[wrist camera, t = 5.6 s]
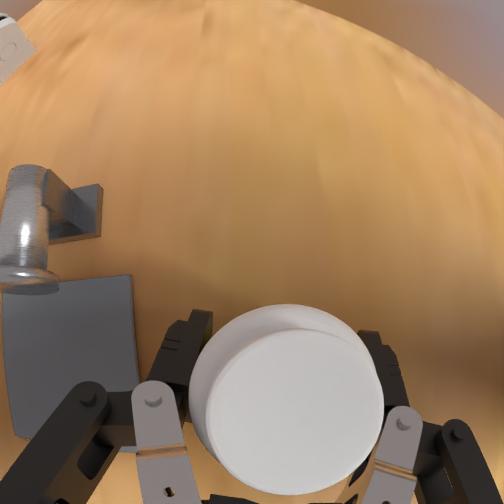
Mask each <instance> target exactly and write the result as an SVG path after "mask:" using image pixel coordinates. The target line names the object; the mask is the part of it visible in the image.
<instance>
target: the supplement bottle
mask: <svg viewBox="0 0 504 504" xmlns="http://www.w3.org/2000/svg"><path fill="white" fill-rule="evenodd" d="M189 410H190V415H191V419H192V422H193V426H194V428H195V431H196V433H197V435H198V437H199V439H200V440H201V442H202V443H203V445H204V446H205V448H206V449H207V450H208V451H209V453H210V454H211V455H212V456H213V457H214V458H215V459H216V460H217V461H218V462H219V463H221V464H222V465H223V466H224V468H225V469H226V470H227V471H228V472H229V473H230V474H231V475H232V476H234V477H235V478H237V479H238V480H239V481H241V482H243V483H244V484H246V485H248V486H250V487H252V488H255V489H257V490H260V491H264V492H267V493H271V494H277V495H302V494H307V493H313V492H316V491H319V490H322V489H325V488H327V487H330V486H332V485H334V484H336V483H338V482H339V481H341V480H343V479H344V478H346V477H347V476H348V475H350V474H351V473H352V472H353V471H354V470H355V469H357V468H358V467H359V466H360V465H361V463H362V462H363V461H364V460H365V459H366V458H367V456H368V455H369V453H370V452H371V450H372V448H373V447H374V445H375V443H376V441H377V439H378V436H379V433H380V431H381V426H382V422H383V416H384V397H383V392H382V387H381V384H380V381H379V379H378V376H377V373H376V369H375V366H374V363H373V360H372V357H371V355H370V353H369V351H368V349H367V348H366V346H365V344H364V343H363V341H362V340H361V339H360V337H359V336H358V335H357V334H356V333H355V332H354V331H353V330H352V329H351V328H350V327H349V326H348V325H347V324H345V323H344V322H343V321H341V320H339V319H338V318H336V317H335V316H333V315H331V314H329V313H327V312H325V311H322V310H319V309H316V308H313V307H310V306H304V305H297V304H276V305H269V306H265V307H260V308H257V309H254V310H251V311H248V312H246V313H244V314H242V315H240V316H238V317H236V318H234V319H233V320H231V321H230V322H228V323H227V324H226V325H225V326H223V327H222V328H221V329H220V330H219V331H217V332H216V333H215V335H214V336H213V337H212V338H211V339H210V340H209V341H208V343H207V344H206V345H205V347H204V348H203V350H202V352H201V353H200V355H199V357H198V359H197V361H196V364H195V366H194V369H193V372H192V375H191V379H190V384H189Z"/></svg>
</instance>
